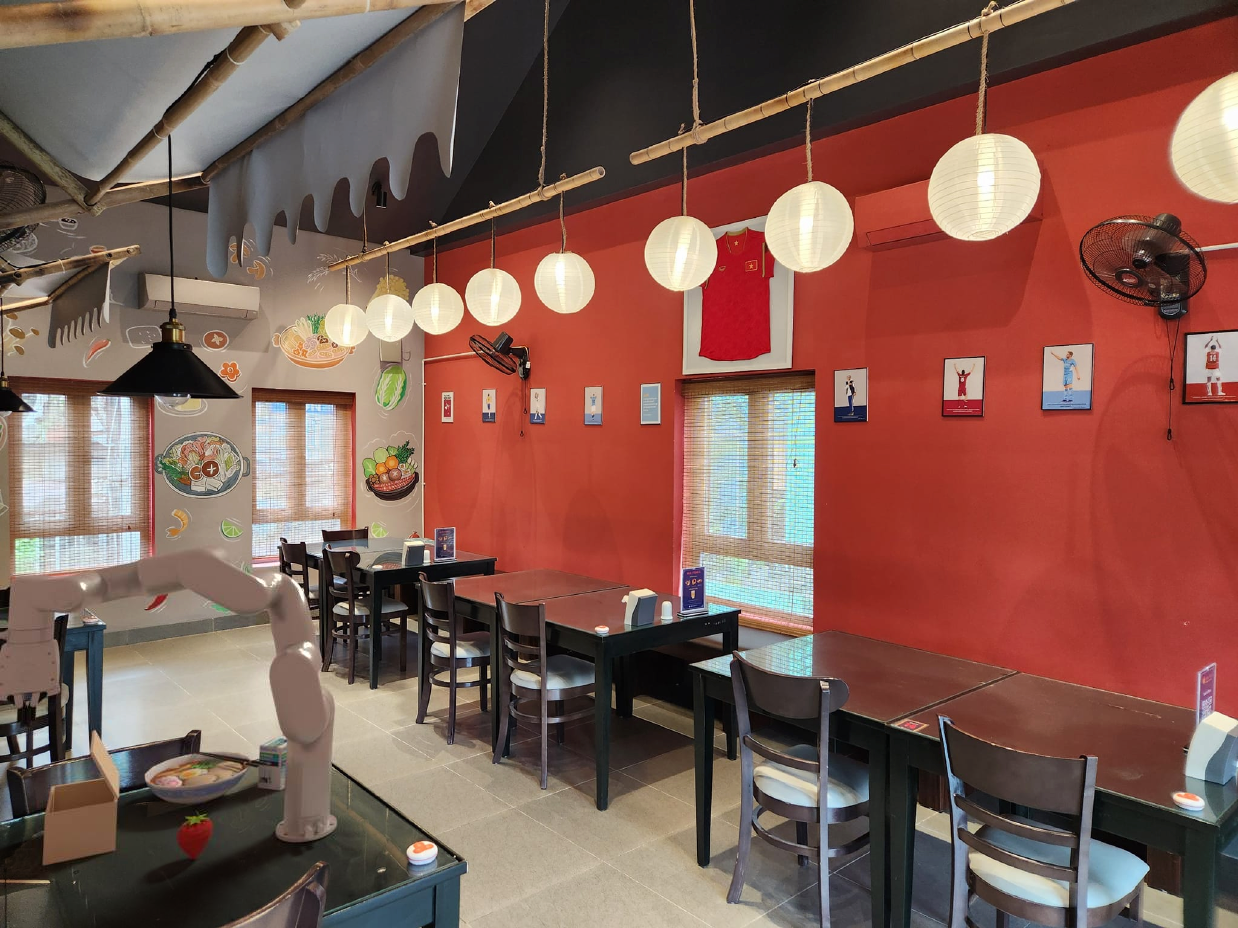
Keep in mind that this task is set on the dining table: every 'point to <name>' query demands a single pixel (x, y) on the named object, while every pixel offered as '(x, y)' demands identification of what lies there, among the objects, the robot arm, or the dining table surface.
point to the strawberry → (194, 835)
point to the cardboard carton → (79, 821)
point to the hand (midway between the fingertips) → (26, 725)
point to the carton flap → (105, 764)
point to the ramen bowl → (198, 776)
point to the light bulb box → (273, 763)
